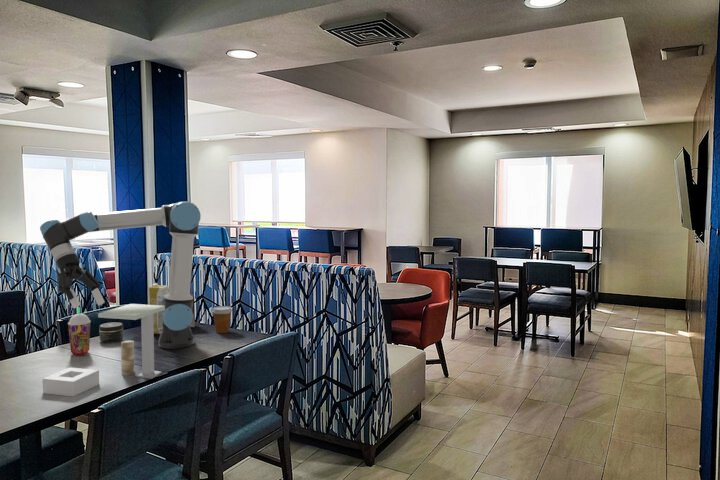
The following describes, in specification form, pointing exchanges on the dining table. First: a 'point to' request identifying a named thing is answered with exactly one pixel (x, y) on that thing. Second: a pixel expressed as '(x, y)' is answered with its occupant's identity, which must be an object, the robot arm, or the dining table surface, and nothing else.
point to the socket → (70, 381)
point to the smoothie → (79, 334)
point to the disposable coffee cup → (222, 318)
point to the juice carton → (156, 299)
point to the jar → (111, 332)
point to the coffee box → (193, 314)
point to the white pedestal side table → (146, 331)
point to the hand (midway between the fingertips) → (89, 305)
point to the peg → (127, 357)
